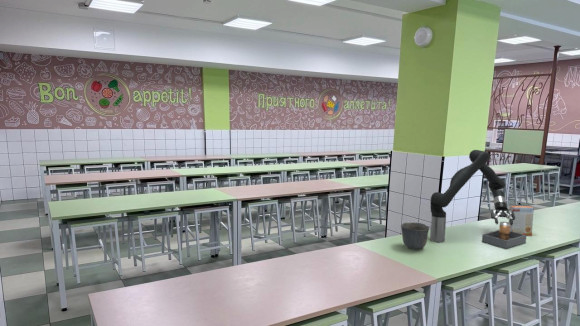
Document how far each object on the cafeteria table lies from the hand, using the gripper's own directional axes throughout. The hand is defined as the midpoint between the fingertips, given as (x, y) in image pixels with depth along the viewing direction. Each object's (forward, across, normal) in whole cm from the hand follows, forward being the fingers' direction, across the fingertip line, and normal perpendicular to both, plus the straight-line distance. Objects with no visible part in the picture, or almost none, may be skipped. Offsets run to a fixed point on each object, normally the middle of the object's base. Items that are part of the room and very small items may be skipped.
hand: (504, 224), depth 241 cm
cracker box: (-6, +17, +24) cm, 30 cm away
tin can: (+9, 0, +7) cm, 12 cm away
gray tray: (+10, 0, +8) cm, 12 cm away
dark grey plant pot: (+30, -60, -12) cm, 68 cm away
